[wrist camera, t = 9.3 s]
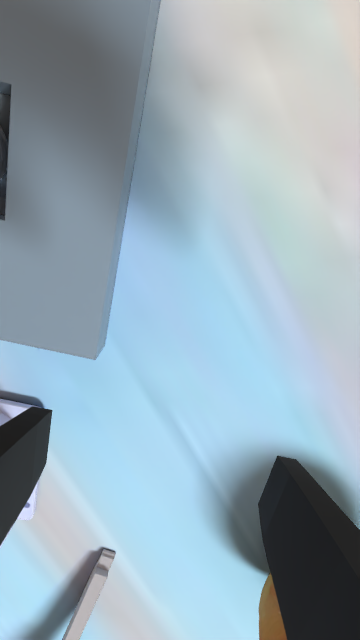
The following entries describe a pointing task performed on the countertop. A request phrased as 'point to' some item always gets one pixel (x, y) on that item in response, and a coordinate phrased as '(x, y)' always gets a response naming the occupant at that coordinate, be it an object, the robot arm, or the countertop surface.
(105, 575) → the caliper
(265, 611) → the onion
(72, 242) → the hole plate
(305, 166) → the countertop surface
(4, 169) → the steel ball
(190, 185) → the countertop surface
